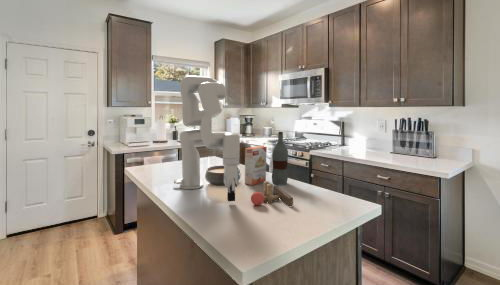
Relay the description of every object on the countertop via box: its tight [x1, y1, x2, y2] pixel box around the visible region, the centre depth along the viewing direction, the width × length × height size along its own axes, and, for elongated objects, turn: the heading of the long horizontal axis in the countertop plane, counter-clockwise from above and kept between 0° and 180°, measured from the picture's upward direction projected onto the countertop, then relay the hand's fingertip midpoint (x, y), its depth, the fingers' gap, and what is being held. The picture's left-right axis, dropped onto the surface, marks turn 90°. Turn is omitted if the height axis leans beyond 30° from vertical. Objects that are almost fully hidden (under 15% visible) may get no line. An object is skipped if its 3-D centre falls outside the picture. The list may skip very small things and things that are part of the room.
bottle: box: [271, 131, 289, 186], centre depth 163 cm, size 9×9×30 cm
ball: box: [250, 191, 264, 206], centre depth 128 cm, size 6×6×6 cm
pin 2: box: [266, 183, 273, 204], centre depth 131 cm, size 2×2×8 cm
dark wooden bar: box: [273, 185, 294, 207], centre depth 135 cm, size 2×20×4 cm, turn 14°
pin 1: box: [263, 180, 270, 196], centre depth 136 cm, size 2×2×8 cm
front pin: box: [263, 194, 280, 202], centre depth 134 cm, size 2×2×8 cm
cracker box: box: [244, 145, 268, 186], centre depth 165 cm, size 14×6×21 cm, turn 143°
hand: (231, 200), depth 129 cm, fingers closed
